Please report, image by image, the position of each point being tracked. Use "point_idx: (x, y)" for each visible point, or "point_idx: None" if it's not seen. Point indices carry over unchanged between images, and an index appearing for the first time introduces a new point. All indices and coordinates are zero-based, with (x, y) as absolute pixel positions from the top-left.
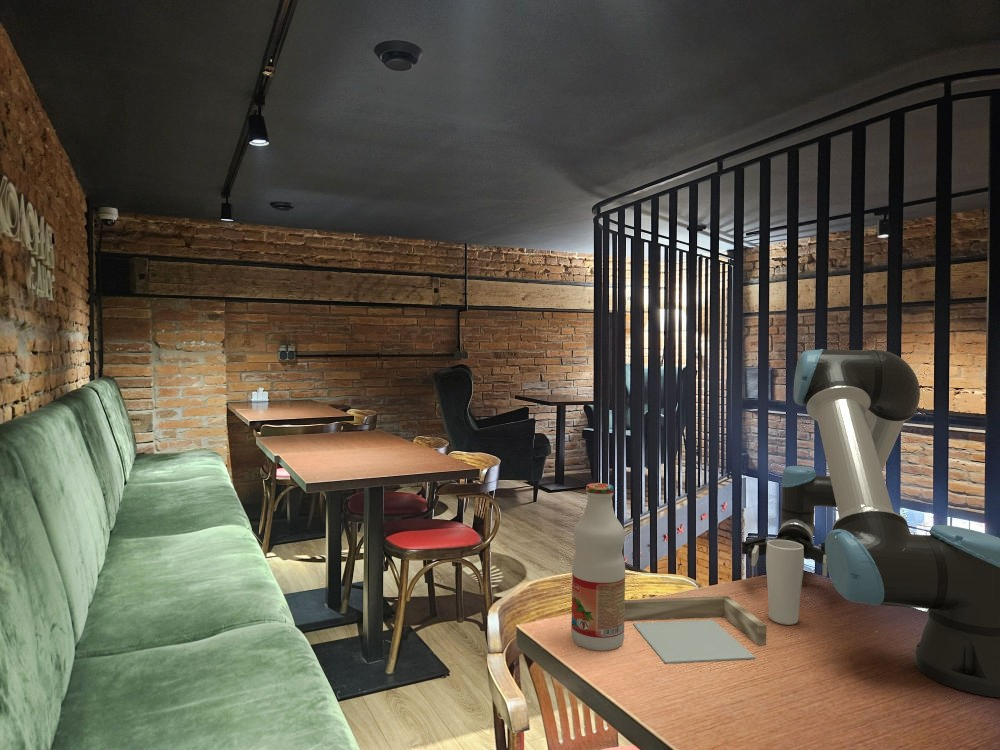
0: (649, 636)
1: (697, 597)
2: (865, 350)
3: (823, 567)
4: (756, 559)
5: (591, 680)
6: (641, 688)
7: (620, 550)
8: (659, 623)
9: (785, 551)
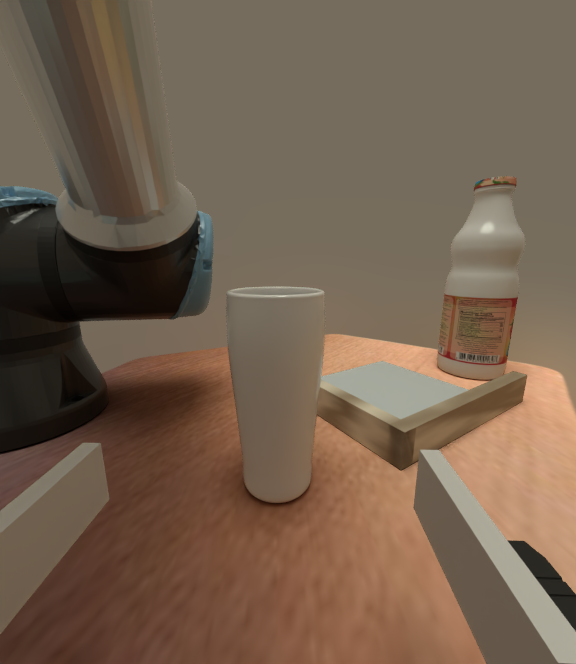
0: (432, 380)
1: (447, 410)
2: None
3: (100, 463)
4: (443, 548)
5: (410, 345)
6: (375, 347)
7: (453, 261)
8: None
9: (275, 293)
